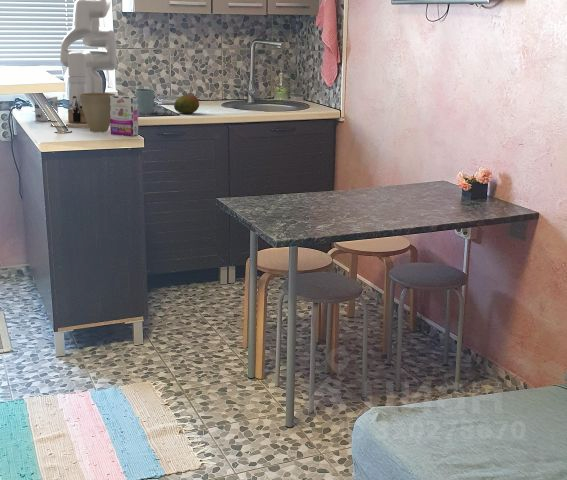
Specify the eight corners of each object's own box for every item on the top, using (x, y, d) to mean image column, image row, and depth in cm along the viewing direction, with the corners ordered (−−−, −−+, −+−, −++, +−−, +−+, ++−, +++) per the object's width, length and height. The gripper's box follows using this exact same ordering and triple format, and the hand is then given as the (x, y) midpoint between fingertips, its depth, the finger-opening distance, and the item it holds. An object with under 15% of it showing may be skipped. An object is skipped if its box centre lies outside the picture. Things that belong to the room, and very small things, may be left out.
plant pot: (103, 127, 360) (102, 91, 356) (122, 131, 350) (122, 94, 346) (74, 130, 350) (72, 93, 345) (93, 134, 340) (92, 96, 336)
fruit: (201, 114, 420) (202, 95, 417) (179, 115, 414) (179, 95, 411) (193, 112, 430) (193, 93, 427) (171, 112, 424) (171, 93, 421)
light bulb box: (48, 121, 374) (47, 98, 371) (34, 120, 375) (33, 97, 372) (58, 119, 384) (57, 96, 381) (45, 118, 385) (44, 95, 382)
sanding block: (71, 121, 367) (71, 107, 366) (89, 121, 367) (88, 108, 365) (68, 122, 363) (67, 109, 361) (85, 123, 362) (85, 109, 361)
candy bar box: (139, 135, 342) (138, 96, 338) (132, 136, 338) (132, 97, 333) (116, 133, 346) (115, 94, 342) (109, 134, 341) (109, 95, 337)
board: (60, 122, 371) (60, 119, 371) (98, 124, 370) (98, 121, 370) (50, 126, 359) (50, 123, 359) (90, 128, 358) (90, 125, 358)
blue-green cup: (145, 111, 426) (144, 88, 423) (158, 113, 420) (158, 89, 417) (131, 112, 418) (130, 89, 415) (145, 114, 412) (144, 90, 409)
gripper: (74, 78, 368) (76, 118, 373) (63, 81, 352) (64, 123, 357) (91, 79, 368) (92, 119, 373) (80, 82, 351) (81, 123, 356)
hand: (78, 120), depth 365 cm, fingers closed on sanding block, 5 cm apart
